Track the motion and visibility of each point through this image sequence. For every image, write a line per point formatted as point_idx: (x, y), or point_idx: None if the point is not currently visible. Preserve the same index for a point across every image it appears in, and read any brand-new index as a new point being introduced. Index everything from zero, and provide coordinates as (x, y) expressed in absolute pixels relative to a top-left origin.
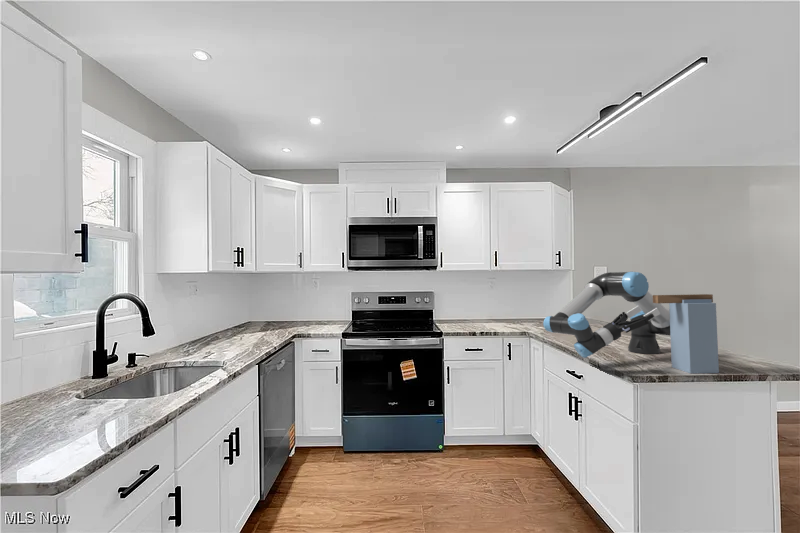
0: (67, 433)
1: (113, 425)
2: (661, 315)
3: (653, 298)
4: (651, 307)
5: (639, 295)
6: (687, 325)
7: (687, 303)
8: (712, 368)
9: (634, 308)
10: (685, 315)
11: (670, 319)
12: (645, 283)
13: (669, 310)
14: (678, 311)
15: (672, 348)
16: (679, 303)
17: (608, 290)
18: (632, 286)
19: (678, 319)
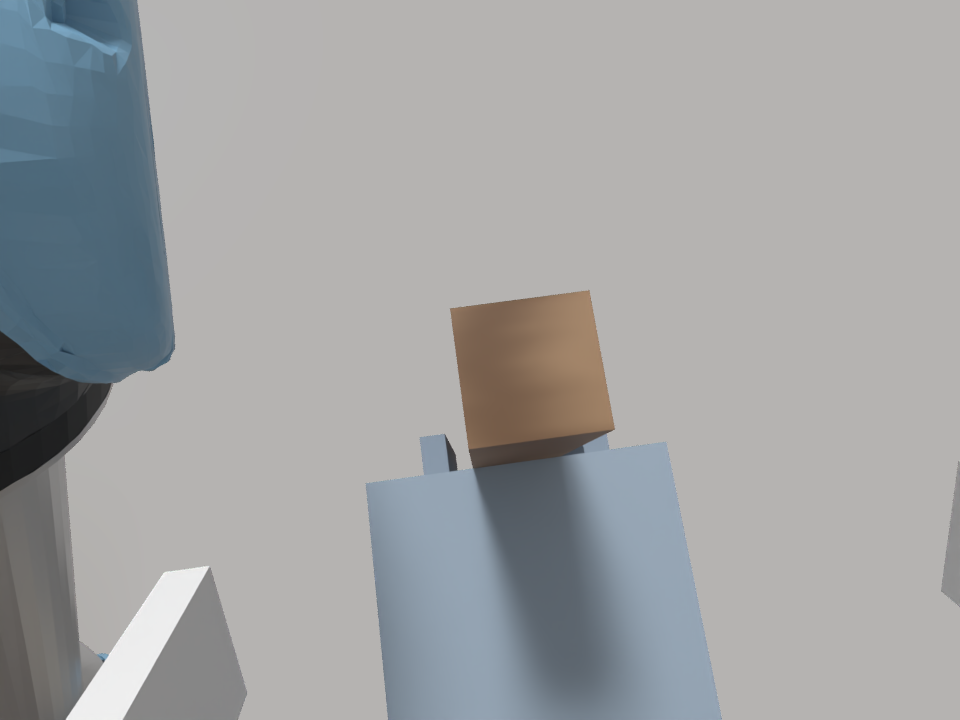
0: None
1: None
2: (59, 709)
3: (478, 363)
4: (34, 626)
5: (153, 330)
6: (701, 703)
7: (644, 445)
8: None
9: (150, 673)
10: (652, 586)
11: (400, 705)
12: (158, 192)
13: (376, 589)
14: (532, 565)
15: None
16: (541, 466)
17: None
18: (86, 18)
19: (542, 667)
